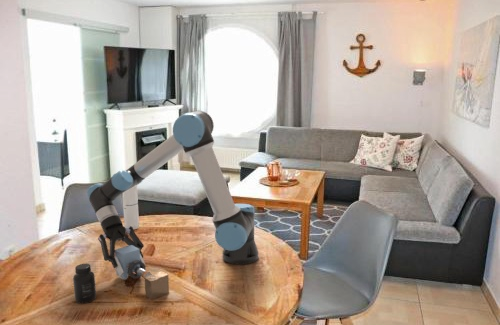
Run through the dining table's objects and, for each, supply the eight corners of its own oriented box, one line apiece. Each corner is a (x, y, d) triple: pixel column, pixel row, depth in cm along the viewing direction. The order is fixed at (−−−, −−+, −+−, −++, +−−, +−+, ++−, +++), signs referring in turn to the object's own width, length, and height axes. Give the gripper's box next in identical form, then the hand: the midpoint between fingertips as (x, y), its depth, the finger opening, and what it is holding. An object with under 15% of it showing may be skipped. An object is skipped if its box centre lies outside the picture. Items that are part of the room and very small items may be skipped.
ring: (128, 279, 154) (127, 263, 153) (142, 273, 158) (142, 258, 157) (130, 280, 153) (129, 264, 152) (145, 275, 157) (144, 259, 156)
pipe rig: (115, 276, 160) (114, 259, 159) (132, 270, 165) (131, 254, 164) (151, 300, 143) (150, 281, 142) (169, 293, 148) (168, 274, 146)
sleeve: (116, 274, 160) (114, 249, 158) (132, 268, 164) (131, 244, 163) (124, 279, 155) (122, 254, 154) (140, 273, 160) (139, 249, 158)
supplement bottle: (99, 293, 147) (96, 261, 145) (92, 303, 141) (89, 270, 138) (79, 294, 147) (76, 262, 145) (71, 304, 140) (68, 271, 138)
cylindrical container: (135, 230, 209) (132, 181, 204) (121, 229, 211) (118, 180, 206) (141, 225, 216) (139, 178, 211) (128, 224, 218) (125, 177, 213)
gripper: (130, 218, 175) (153, 266, 167) (80, 231, 160) (103, 284, 152) (136, 208, 170) (160, 257, 162) (85, 221, 155) (109, 275, 147)
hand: (132, 270), depth 157 cm, fingers open, 8 cm apart
